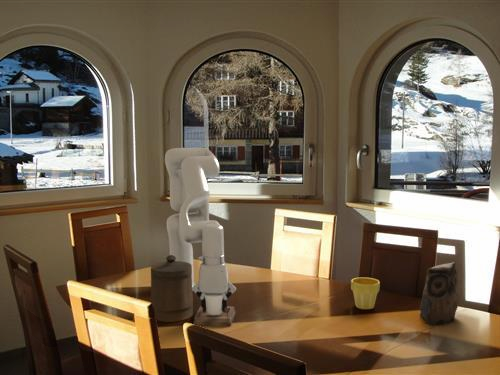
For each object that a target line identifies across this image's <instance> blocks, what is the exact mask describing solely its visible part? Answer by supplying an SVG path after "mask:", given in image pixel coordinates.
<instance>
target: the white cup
mask: <svg viewBox="0 0 500 375" xmlns="http://www.w3.org/2000/svg"><path fill="white" fill-rule="evenodd" d="M222 300H223V296H222V294H221V293H206V294H205V303H206V311H207V314H209V315H219V314H221V313H222V312H223V310H222Z"/></svg>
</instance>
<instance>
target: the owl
mask: <svg viewBox="0 0 500 375" xmlns="http://www.w3.org/2000/svg"><path fill="white" fill-rule="evenodd" d="M457 286H458V272H457V269H456V262H455V261H453V262H449V263H443V264H438V265H435V266H433V267H429V268H428V269H427V271H426V276H425V285H424V288H423V290H422V291H423V292H422V298H421V303H420V307H419V311H420V313H419V314H420V315H421V317H422V318H423V320H424V321H425V322H426V324H427V325H429V326H438V327H442V326H445V325H449V324H450V323H454V322H455V317H456V312H457V311H458V310H457V309H458V308H459V306H458V304H459V299H458V296H459V295H458V293H457Z"/></svg>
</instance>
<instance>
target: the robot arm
mask: <svg viewBox="0 0 500 375" xmlns="http://www.w3.org/2000/svg"><path fill="white" fill-rule="evenodd" d="M164 164H165V167H166V168H165V169H166V170H167V173H168V178H169V203H170V204H169V205H170V207H171V209H172V210H173V211H175V212H179V213H175V214H172V215H170V216H168V218H167V219H166V231H167V236H168V244H169V255H173V256H175V257H176V260H175V261H181V262H187V263H190V264H191V265H192V292H194V293H195V295H196V296H197V297H199V299H200V301H201V305H200V306H202V308H203V311H205V310H206V303H205V294H206V293H221V294H222V296H223V300H222V310H223V311H225V309H226V308H227V306H228V299H229V298H230V297H231V296H232V295H233V293H235V292H236V291H237V287H236V286H235V285H233V283H232V282H230V280H229V274H228V266H227V263H226V262H225V240H224V237H225V236H224V233H225V232H224V227H223V225H221V224H220V223H219V222H218V220H215V219H214V220H213V219H210V197H209V196H210V188H209V184H208V181H207V180H208V179H212V178H217V177H218V176H219V174H220V163H219V161H218V158H217V157H216V156H215V155H214V153H213V152H212V151H211V150H210V149H209V148H207V147H201V146H200V147H175V148H170V149H168V150H167V151H166V152H165V156H164ZM189 211H196V212H189ZM194 243H195V244H196V243H201V250H202V251H201V252H202V254H201V255H200V256H198V261H201V263H200V265H199V270H198V281H197V283H196V282H195V277H194V275H195V274H194V249H193V245H192V244H194ZM228 289H230V290H228Z"/></svg>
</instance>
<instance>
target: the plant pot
mask: <svg viewBox="0 0 500 375" xmlns="http://www.w3.org/2000/svg"><path fill="white" fill-rule="evenodd" d="M380 284H381V282H380V280H379V279H376V278H372V277H355V278H352V279H351V280H350V290H351V291H352V293H353V298H354V303H355V307H356V308H358V309H360V310H371V309H374V307H375V304H376V300H377V295H378V293H379V292H380V286H381V285H380Z"/></svg>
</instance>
